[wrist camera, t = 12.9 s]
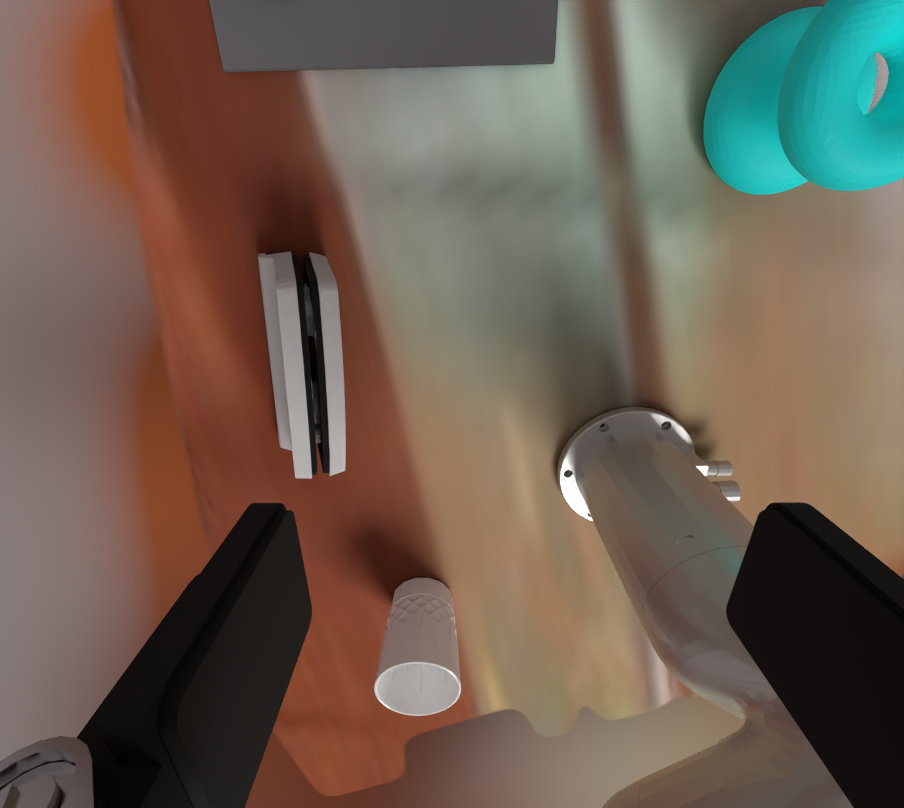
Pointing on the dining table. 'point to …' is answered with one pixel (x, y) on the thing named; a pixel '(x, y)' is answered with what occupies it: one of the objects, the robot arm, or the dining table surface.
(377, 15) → the mat
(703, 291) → the dining table surface
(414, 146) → the dining table surface
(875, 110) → the donuts
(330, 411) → the white slotted device
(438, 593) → the white cup
